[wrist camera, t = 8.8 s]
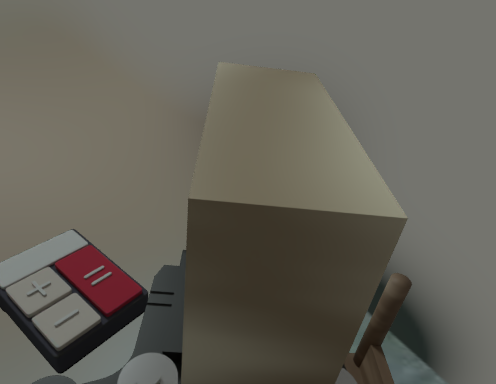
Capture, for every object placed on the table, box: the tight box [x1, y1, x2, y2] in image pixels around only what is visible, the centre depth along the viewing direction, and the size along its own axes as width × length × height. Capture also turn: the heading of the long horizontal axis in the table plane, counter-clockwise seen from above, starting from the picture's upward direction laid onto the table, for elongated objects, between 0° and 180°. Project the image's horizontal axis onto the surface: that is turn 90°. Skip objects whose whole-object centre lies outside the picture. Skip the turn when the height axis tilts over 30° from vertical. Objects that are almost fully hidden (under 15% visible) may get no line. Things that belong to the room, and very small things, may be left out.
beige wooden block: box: [181, 62, 408, 384], centre depth 11 cm, size 2×6×16 cm, turn 1°
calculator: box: [0, 229, 148, 374], centre depth 42 cm, size 11×4×15 cm
